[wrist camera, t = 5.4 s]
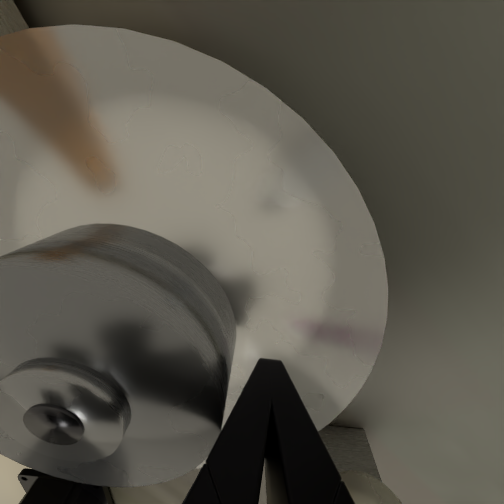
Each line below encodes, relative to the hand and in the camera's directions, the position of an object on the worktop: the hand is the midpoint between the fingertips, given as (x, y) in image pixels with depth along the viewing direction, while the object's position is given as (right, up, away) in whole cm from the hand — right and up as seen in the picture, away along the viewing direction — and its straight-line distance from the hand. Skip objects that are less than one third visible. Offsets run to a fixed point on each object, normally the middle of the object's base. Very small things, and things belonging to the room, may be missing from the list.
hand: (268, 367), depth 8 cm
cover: (-5, +1, +1) cm, 5 cm away
